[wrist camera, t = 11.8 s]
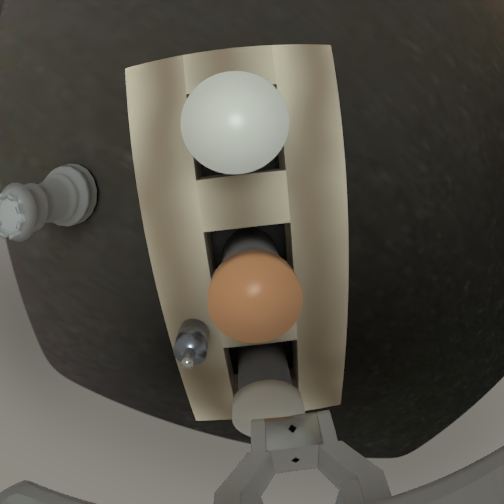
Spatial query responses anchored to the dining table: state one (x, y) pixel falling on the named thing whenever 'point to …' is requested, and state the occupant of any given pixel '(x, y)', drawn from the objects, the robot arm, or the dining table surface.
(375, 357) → the dining table surface
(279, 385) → the knob
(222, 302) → the knob
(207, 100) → the knob
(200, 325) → the grey metal fitting
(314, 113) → the mount
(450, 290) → the dining table surface
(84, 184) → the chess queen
